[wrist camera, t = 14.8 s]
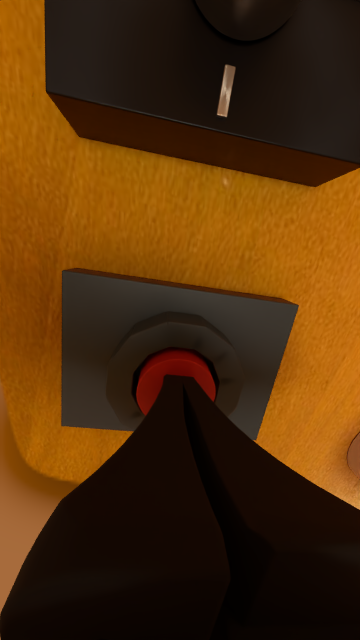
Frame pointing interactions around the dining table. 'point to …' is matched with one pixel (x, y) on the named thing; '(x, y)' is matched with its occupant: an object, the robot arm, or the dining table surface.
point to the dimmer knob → (247, 16)
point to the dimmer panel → (211, 84)
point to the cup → (354, 456)
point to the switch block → (165, 345)
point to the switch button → (171, 373)
